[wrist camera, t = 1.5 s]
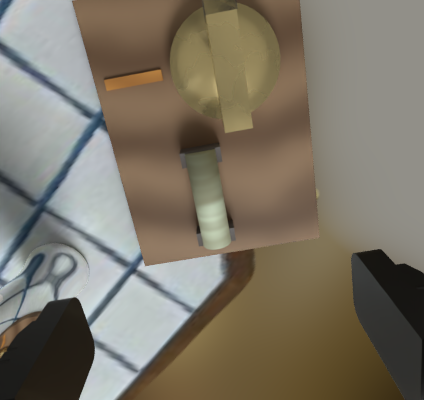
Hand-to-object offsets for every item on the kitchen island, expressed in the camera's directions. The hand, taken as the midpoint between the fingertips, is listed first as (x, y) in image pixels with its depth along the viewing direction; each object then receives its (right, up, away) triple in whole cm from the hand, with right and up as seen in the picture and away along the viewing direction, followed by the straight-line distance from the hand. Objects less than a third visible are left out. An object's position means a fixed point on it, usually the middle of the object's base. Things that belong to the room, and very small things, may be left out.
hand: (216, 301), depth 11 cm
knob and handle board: (0, +9, +21) cm, 23 cm away
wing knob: (+1, +13, +18) cm, 22 cm away
